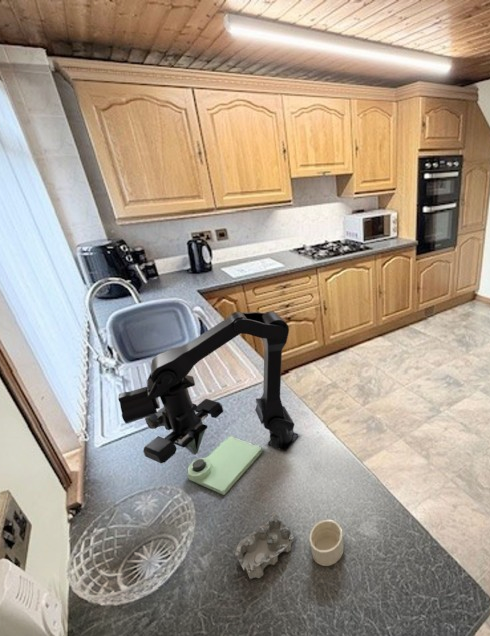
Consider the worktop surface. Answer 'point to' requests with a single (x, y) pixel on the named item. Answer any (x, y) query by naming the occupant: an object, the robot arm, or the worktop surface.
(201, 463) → the button
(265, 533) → the egg carton
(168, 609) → the worktop surface
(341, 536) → the cup
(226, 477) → the scale
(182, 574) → the worktop surface
